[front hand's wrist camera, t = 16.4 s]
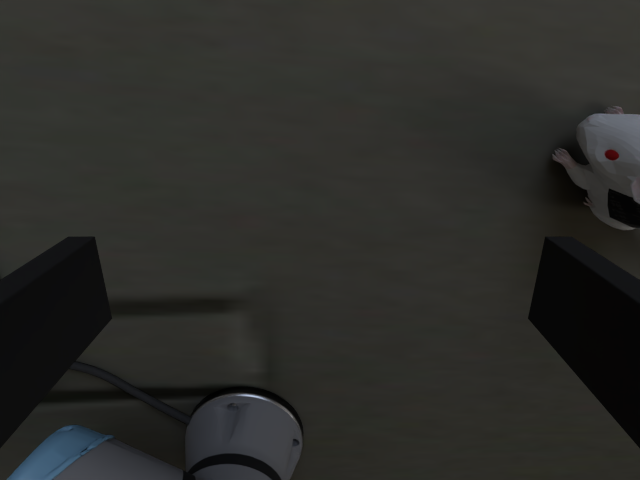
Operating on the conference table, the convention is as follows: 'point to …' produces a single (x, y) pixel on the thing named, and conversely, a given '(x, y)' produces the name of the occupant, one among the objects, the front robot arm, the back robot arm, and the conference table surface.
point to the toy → (609, 166)
